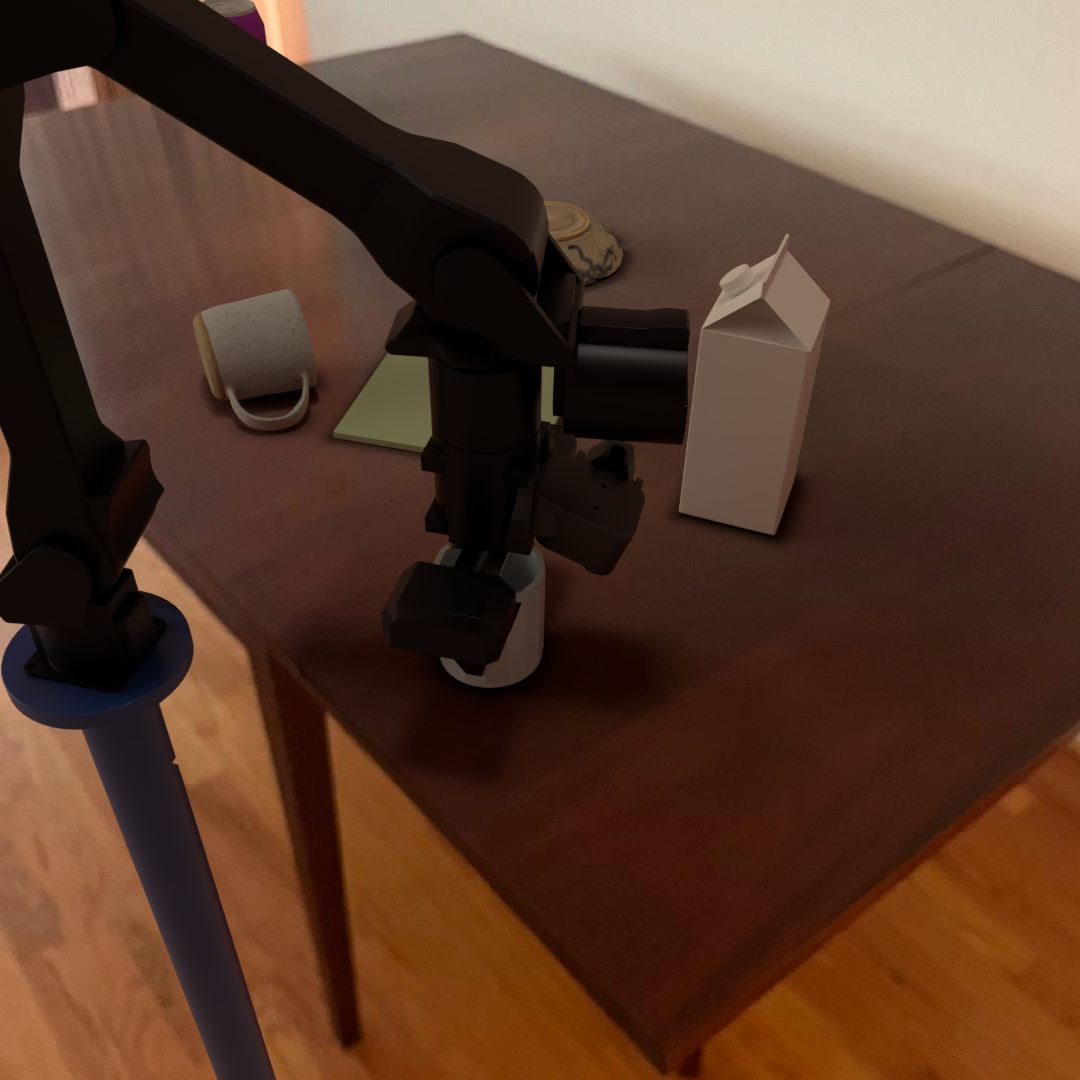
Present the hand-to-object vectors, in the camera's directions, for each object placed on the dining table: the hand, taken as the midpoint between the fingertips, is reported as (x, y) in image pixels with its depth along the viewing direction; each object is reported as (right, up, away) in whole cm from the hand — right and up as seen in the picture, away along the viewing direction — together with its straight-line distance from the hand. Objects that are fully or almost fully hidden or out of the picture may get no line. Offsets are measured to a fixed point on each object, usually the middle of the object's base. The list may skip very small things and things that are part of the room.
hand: (490, 635), depth 70 cm
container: (0, -1, +1) cm, 1 cm away
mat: (-4, +17, +21) cm, 28 cm away
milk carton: (+17, +9, +14) cm, 24 cm away
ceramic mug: (-19, +18, +21) cm, 34 cm away
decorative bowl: (+2, +35, +42) cm, 55 cm away
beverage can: (-35, +59, +65) cm, 94 cm away
